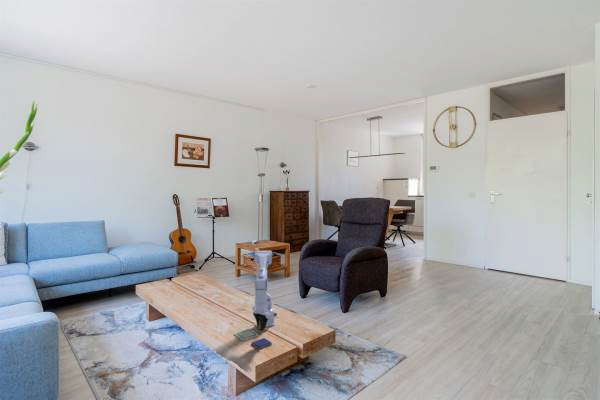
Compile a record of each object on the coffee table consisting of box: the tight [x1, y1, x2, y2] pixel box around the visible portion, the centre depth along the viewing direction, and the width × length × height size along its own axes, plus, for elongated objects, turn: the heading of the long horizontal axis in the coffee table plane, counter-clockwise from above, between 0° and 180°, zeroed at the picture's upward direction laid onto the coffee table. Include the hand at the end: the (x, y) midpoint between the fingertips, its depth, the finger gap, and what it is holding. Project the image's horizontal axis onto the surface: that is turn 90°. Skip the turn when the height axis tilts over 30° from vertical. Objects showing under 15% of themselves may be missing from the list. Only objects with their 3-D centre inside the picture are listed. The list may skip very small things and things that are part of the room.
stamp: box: [255, 320, 269, 335], centre depth 167 cm, size 5×4×6 cm
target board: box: [233, 328, 260, 342], centre depth 178 cm, size 10×10×1 cm
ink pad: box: [250, 337, 273, 350], centre depth 167 cm, size 8×7×1 cm
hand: (261, 327), depth 167 cm, fingers closed on stamp, 3 cm apart
